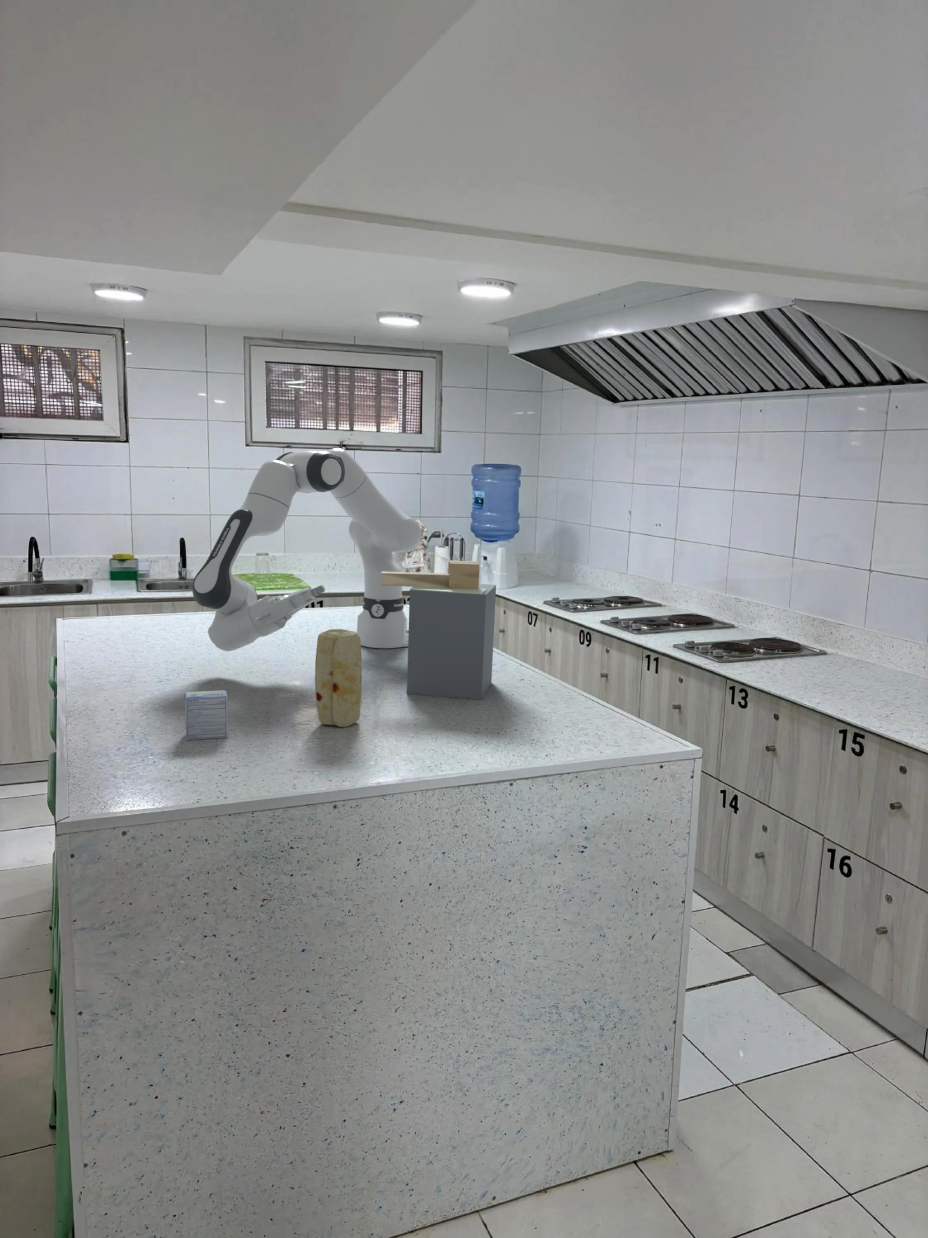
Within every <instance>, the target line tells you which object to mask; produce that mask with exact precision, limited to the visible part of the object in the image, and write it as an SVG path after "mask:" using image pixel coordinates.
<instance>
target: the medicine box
mask: <svg viewBox="0 0 928 1238" xmlns="http://www.w3.org/2000/svg"><path fill="white" fill-rule="evenodd" d="M228 709H229V708H228V693H227V691H226V690H224V689H223V690H222V689H221V690H203V691H186V692H185V693H184V719H185V720H184V721H185V740H186V741H194V740H196V741H197V740H211V739H225V738H227V739H228V738H229V723H228V717H229V715H228V714H229V713H228Z"/></svg>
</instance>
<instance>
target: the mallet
mask: <svg viewBox="0 0 928 1238" xmlns="http://www.w3.org/2000/svg"><path fill="white" fill-rule="evenodd" d="M447 561H448V563H447V564H448V565H447V572H446V573H442V572H440V573H439V572H437V573H436V572H410V571H409V572H408V571H402V572H381V586H402V587H410V588H412V587H440V588H449V589H477V590H478V589H479V584H480V563H479V562H478V560H477V561H475V560H447Z"/></svg>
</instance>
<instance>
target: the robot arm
mask: <svg viewBox="0 0 928 1238" xmlns="http://www.w3.org/2000/svg"><path fill="white" fill-rule="evenodd" d="M319 492H320V493H326V492H330V493H331V495H332V496H333V497H334V499H335V500H336V501H337V503H338V504H339V506H341V508H342V509H343V511H344V512H345V513H346V514H347V515H348V516H349V517H350V518H351V521H350V523H349V527H348V532H349V534H348V535H349V537H350V538H351V540H352V542H353V543H354V544H355V545H356V547H357V549H358V551H359V554H360V557H361V560H362V565H363V571H364V572H363V573H364V595H363V597H362V609H363V610H362V611H361V612H359V614H358V615H357V622H356V633H358V634H359V635H360V641H361V647H367V648H375V649H396V648H402V647H403V648H405V647H406V648H408V634H409V628H408V625H409V619H408V618H407V615H406V613H405V611H404V607H405V606H404V605H405V603H404V600H405V599H404V596H403V586H381V572H403V571H402V569H401V568H400V566H399V565H398V564H397V562H396V561H395V558H394V555H393V553H399V554H400V553H406V552H407V553H408V552H412V551H414V550H415V549H416V548H417V547H418V546H419V545H420V542H421V540H422V529H421V525H420V523H419V522H418V521H417V520H416V519H414V518H412V517H410V516H409V515H407V514H405V513H404V512H403V511H401V509H400V508H398V507H397V506H396V505H395V504H393V503H392V501H390V500H389V499H388V498H387V497H386V496H384V495H383V494H382V492H380V490H379V489H378V488H377V487H376V485H375V484H374V483H373V481H372V480H371V478H370V477H369V476H368V475H367V473H366V471H365V470H364V469H363V467H362V466H361V465H360V463H359V462H358V461H357V460H355V458H354V457H353V456H352V455H351V454H350V453H348V451H346V450H345V449H343V448H340V447H333V448H330V449H328V450H327V451H325V450H302V451H300V450H299V451H288V452H286V453H285V452H284V453H283V454H281V455H279V456H278V457H277V458H276V459H272V460H270V459H269V460H268V461H266V462H264V463H263V464H262V465H261V467H260V468H259V470H258V471H257V474H256V475H255V477H254V479H253V480H252V483H251V485H250V488H249V489H248V493H247V494H246V497H245V500H244V502H243V503H242V505H241V506H240V508H239V509H237V510H235V511H234V512H233V513H232V514H231V515H230V517H229V518H228V520H226V523H225V525H224V527H223V528H222V530H221V533H220V534H219V536H218V538H217V540H216V542H215V544H214V546H213V548H212V550H211V552H210V554H209V556H208V557H207V560H206V561H205V562H204V564H203V565H202V567H201V568H200V569H199V571H198V572H196V573H197V574H195V577H194V578H193V580H192V584H191V585H192V586H191V587H192V589H191V590H192V596H193V599H194V600H195V602H196V603H197V604H198V605H200V606H201V607H205V608H208V609H212V610H214V611H215V614H214V617H213V620H212V623H211V625H210V626H209V627H208V630H207V633H208V636H209V640H211V642H212V644H213V645H214V646H215V647H217V648H218V649H219V650H221V651H224V652H232V651H236V650H239V649H241V648H244V647H246V646H249V645H250V644H253V643H254V642H255V641H256V640H258V639H259V638H264V637H267V636H269V635H272V634H274V633H276V632H277V631H280V630H281V629H283V628H285V625H286V624H287V622H288V621H289V620H291V619H292V618H293V616H294V615H295V614H296V613H298V612H300V610H302V609H304V608H306V607H308V606H309V605H310V604H312V603H313V602H314V601H316V598H317V596H319V595H321V594H322V593H324V592H326V588H325V586H324V585H322V584H321V585H319V586H316V587H314V588H311V587H306V588H303V589H300V590H296V591H294V592H291V593H288V594H285V595H275V596H272V595H271V596H270V595H265V596H262V598H259V599H258V594H257V591H256V589H255V587H254V586H253V585H252V584H250V583H249V582H247V581H245V580H243V579H242V578H240V577H238V576H235V575H233V573H232V568H233V566H234V564H235V563H236V560H237V558H238V556H239V553H240V552H241V550H242V548H243V546H244V544H245V543H246V542H247V541H248V540H249V539H250V538H253V537H265V536H270V535H273V534H275V533H277V532H279V531H280V530H281V528H282V527H283V526H284V524H285V521H286V520H287V516H288V514H289V511H290V508H291V505H292V502H293V499H294V496H295V495H296V494H297V493H302V494H303V493H304V494H310V493H319Z"/></svg>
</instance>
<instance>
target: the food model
mask: <svg viewBox="0 0 928 1238" xmlns="http://www.w3.org/2000/svg"><path fill="white" fill-rule="evenodd" d="M316 642H317V643H316V651H315V652H316V653H315V667H314V668H315V669H314V687H315V690H314V691H315V692H314V693H315V702H316V712H317V715H318V720H319V722H320V723H321V724H322V725H328V726H337V727H339V728H346V727H349V726H352V725H353V724H355V723H357V722H358V721H359V720H360V718H361V701H362V679H363V678H362V675H363V674H362V673H363V667H362V666H363V661H362V659H363V657H362V656H363V655H362V645H361V641H360V635H359V634H358V633H357V631H354V630H349V629H348V630H347V629H341V628H334V629H332V628H331V629H328V630H325V631H323V632H320V633H319V634H318V635H317V640H316Z"/></svg>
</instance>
